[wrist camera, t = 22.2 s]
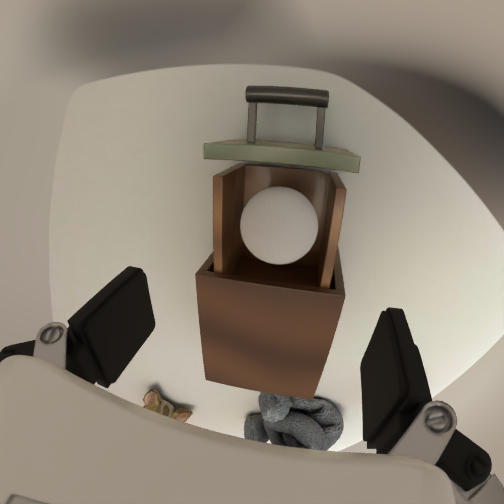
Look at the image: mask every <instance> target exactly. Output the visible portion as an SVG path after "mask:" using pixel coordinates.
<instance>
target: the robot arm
mask: <svg viewBox="0 0 504 504" xmlns="http://www.w3.org/2000/svg"><path fill="white" fill-rule="evenodd" d="M68 324H69V327H68V328H66V326H65V325H64V324H63V323H60V322H52V323H49V324H47V325H45V326H44V327H42V328H41V329H40V331H39V332H38V334H37V337H36V340H33V341H28V342H24V343H19V344H14V345H10V346H7V347H5V348H3V349H2V351H1V352H0V504H504V487H503V485H502V484H501V482H500V481H499V479H498V478H497V476H496V475H495V474H493V475H491V474H490V472H491V467H492V463H491V458H490V456H489V454H488V453H487V452H486V451H485V450H483V449H482V448H481V447H479V446H478V445H477V444H475V443H474V442H472V441H471V440H470V439H469V438H467V437H466V436H465V435H463V434H462V433H461V432H459V431H458V430H457V429H455V428H456V425H457V417H456V413H455V411H454V410H453V408H452V407H451V406H450V405H448V404H447V403H445V402H443V401H432V398H431V394H430V389H429V385H428V381H427V377H426V374H425V370H424V366H423V363H422V359H421V356H420V352H419V349H418V347H417V346H416V345H415V344H414V342H413V339H412V335H411V332H410V329H409V326H408V323H407V320H406V317H405V314H404V311H403V309H399V308H387V309H386V311H382V312H381V314H380V317H379V320H378V322H377V325H376V327H375V330H374V333H373V335H372V337H371V340H370V342H369V345H368V347H367V349H366V352H365V354H364V356H363V359H362V361H361V367H360V371H361V387H362V411H363V440H364V441H367V449H376V450H377V454H372V453H350V452H334V451H322V450H312V449H303V448H295V447H288V446H281V445H275V444H269V443H263V442H258V441H253V440H248V439H243V438H239V437H235V436H231V435H226V434H222V433H219V432H215V431H211V430H208V429H204V428H201V427H197V426H194V425H191V424H188V423H185V422H181V421H178V420H176V419H173V418H170V417H167V416H164V415H161V414H159V413H156V412H154V411H151V410H148V409H146V408H143V407H141V406H139V405H136V404H134V403H131V402H129V401H127V400H125V399H122V398H120V397H118V396H116V395H114V394H111V393H109V392H107V391H105V390H103V389H101V388H99V387H97V386H95V385H94V384H95V382H96V381H97V383H98V384H99V385H101V386H103V387H105V388H107V389H108V387H109V386H110V384H111V383H114V382H116V380H117V379H118V378H119V376H120V375H121V373H122V372H123V371H124V369H125V368H126V367H127V365H128V364H129V362H130V361H131V360H132V358H133V357H134V356H135V354H136V353H137V352H138V350H139V349H140V348H141V346H142V345H143V344H144V342H145V341H146V340H147V338H148V337H149V336H150V334H151V333H152V332H153V330H154V328H155V319H154V314H153V309H152V304H151V299H150V294H149V289H148V283H147V277H146V274H145V273H144V272H143V270H142V269H141V268H136V267H131V266H129V267H127V268H126V269H125V270H123V271H122V272H121V273H120V274H119V275H118V276H116V277H115V278H114V279H113V280H112V281H111V282H109V283H108V284H107V285H106V286H105V287H104V288H103V289H101V290H100V291H99V292H98V293H97V294H96V295H95V296H94V297H92V298H91V299H90V300H89V301H88V302H87V303H86V304H85V305H84V306H83V307H82V308H80V309H79V310H78V311H77V312H76V313H75V314H74V315H73V316H72V317H71V318H70V319H69V320H68Z"/></svg>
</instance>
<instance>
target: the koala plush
mask: <svg viewBox="0 0 504 504" xmlns="http://www.w3.org/2000/svg"><path fill="white" fill-rule="evenodd" d="M259 406H260V409H261V414H259V415H258V414H256V415H252V416H248V417H246V421H245V424H244V425H245V426H244V437H245V439H248V440H253V441H258V442H263V443H266V442H267V441H268V440H269V439H270V441H271V443H272V444H275V445H281V446H288V447H295V448H303V449H312V450H322V451H327V450H328V449H329V448H330V447H331V446H332V445H333V444H335V443H336V441H337V440H338V439H339V438H340V436H341V434H342V431H343V426H344V425H343V424H344V423H343V419H342V416H341V414H340V413H339V411H338V410H337V409H336V407H335V408H334V407H333V405H332V404H330V403H329V402H327V401H325V400H324V399H322V400H321V399H314V398H313V399H308V398H299V397H292V396H285V395H278V394H272V393H266V392H261V394H260V395H259Z"/></svg>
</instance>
